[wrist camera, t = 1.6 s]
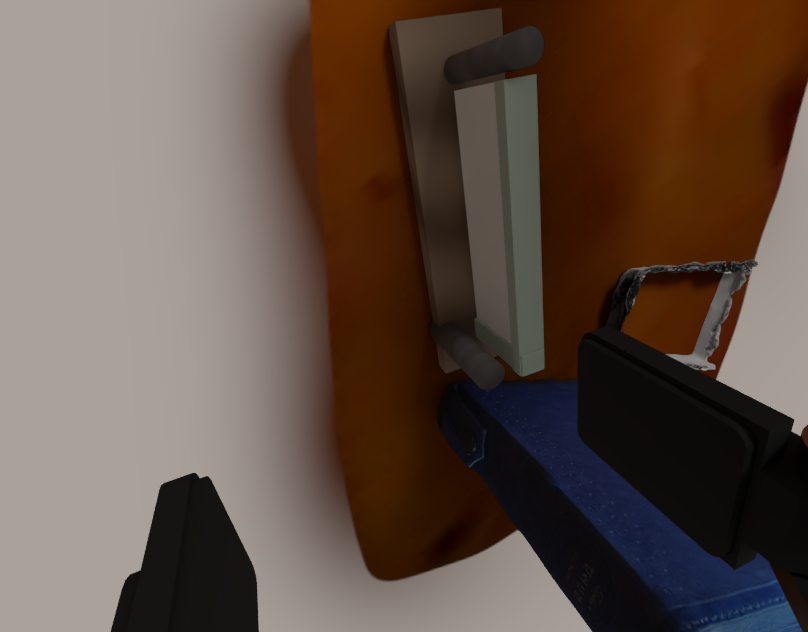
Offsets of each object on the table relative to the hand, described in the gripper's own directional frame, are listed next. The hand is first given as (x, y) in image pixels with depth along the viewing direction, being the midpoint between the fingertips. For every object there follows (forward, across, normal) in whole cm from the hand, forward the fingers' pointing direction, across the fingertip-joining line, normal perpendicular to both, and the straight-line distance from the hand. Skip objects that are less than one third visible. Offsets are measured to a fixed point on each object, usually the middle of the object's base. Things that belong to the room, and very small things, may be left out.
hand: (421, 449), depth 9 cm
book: (+18, -13, +16) cm, 27 cm away
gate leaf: (+16, -10, 0) cm, 19 cm away
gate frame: (+18, -10, 0) cm, 21 cm away
